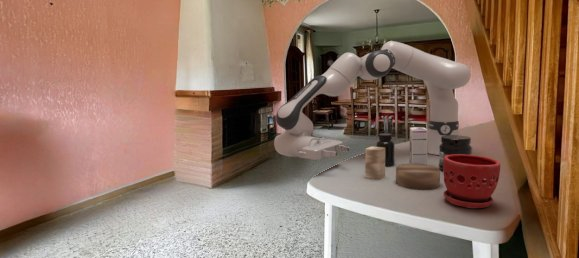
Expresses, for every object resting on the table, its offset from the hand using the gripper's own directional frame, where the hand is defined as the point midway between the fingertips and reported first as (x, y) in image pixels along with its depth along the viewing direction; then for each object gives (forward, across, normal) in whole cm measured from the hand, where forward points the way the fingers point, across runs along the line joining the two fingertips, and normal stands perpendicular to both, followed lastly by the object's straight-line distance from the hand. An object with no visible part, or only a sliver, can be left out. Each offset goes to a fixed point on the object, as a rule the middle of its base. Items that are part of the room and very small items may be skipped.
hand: (342, 151), depth 122 cm
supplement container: (+33, +23, +7) cm, 41 cm away
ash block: (+12, 0, +8) cm, 14 cm away
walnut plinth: (+26, 0, +8) cm, 27 cm away
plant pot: (+43, -10, +8) cm, 44 cm away
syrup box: (+20, +22, +8) cm, 31 cm away
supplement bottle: (+9, +18, +8) cm, 22 cm away
